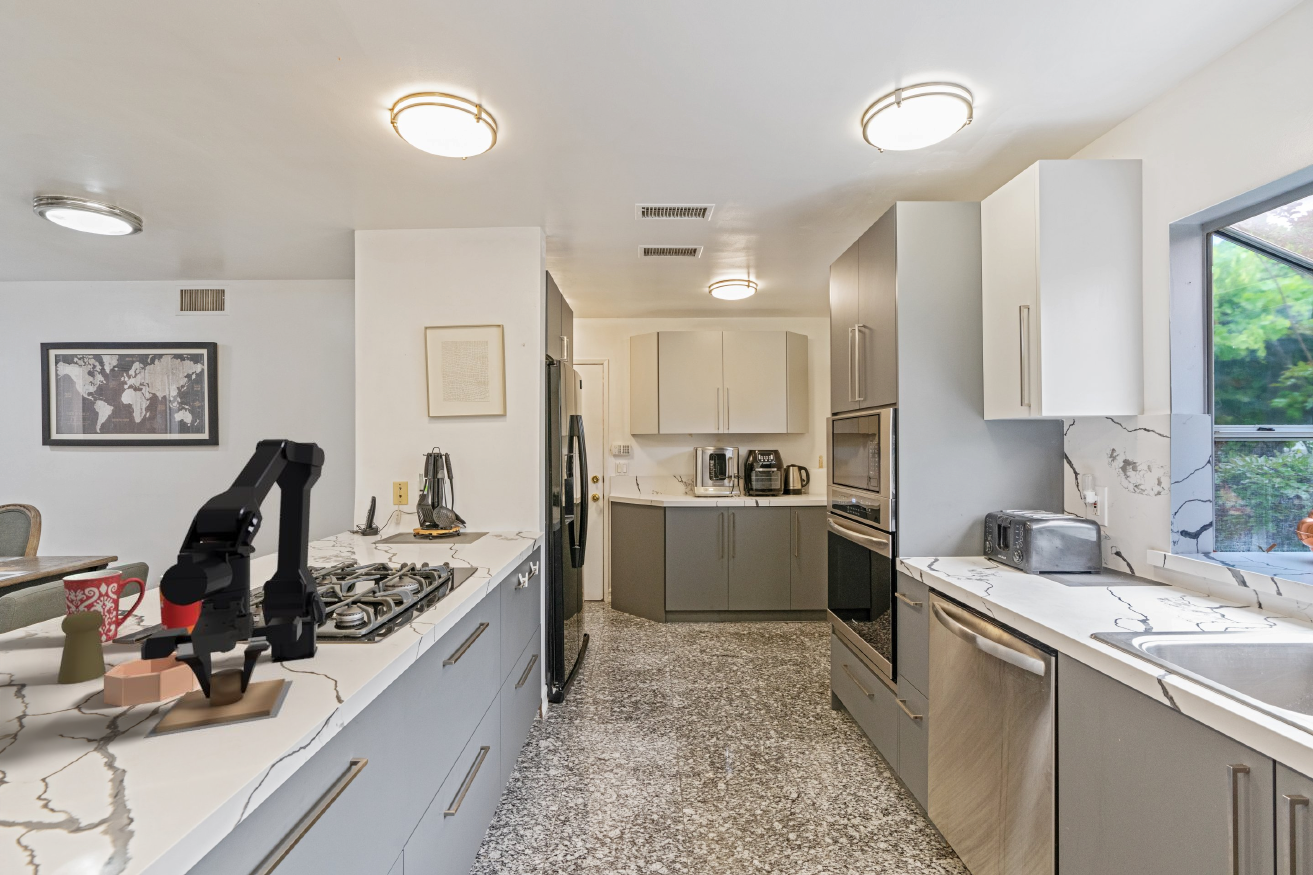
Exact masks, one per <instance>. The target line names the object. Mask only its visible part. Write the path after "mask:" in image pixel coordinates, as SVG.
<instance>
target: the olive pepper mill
mask: <svg viewBox="0 0 1313 875" xmlns="http://www.w3.org/2000/svg"><path fill="white" fill-rule="evenodd" d="M102 624H103V615H102V614H101V613H100V612H98V611H83V612H77V613H74V614H70V615H68V616H65V617H64V618H63V619H62V621H61V624H60V625H61V630H62V632H63V633H64V634H65V640H64V642H63V643H64V644H63V650H62V653H61V654H62V655H61V660H60V666H59V671H58V676H57V684H60V685H71V684H72V685H73V684H80V683H85V682H90V681H93V680H96V679H98V678H101V677H104V675H105V674H106V673H107V669H106V663H105V658H104V653H103V647H102V643H101V639H100V633H99V629H100V627H101V626H102Z"/></svg>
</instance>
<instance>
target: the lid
mask: <svg viewBox="0 0 1313 875" xmlns="http://www.w3.org/2000/svg"><path fill="white" fill-rule="evenodd" d="M242 676H243V668H239V667H238V668H237V667H236V668H227V669H222V670H219V671H216V672H212V674H211V675H210V698H208V699H207V698H206V697H205V695H204V693H203V690H202V689H201V690H200V689H198V690H192V691H189V692H186V693H184V694H183V695H182V696H183V697H182V698H181V699H180V700H179V701H178V703H177V704H176V705H175V706H174V707H173V708H172V709H171V711H170V712H169V713H168V714H167V715H166V716H165V717H164V719H163V720H162V721H161V722H160V723H159V724H158V725H157V727H156V733H161V732H168V731H174V730H180V729H187V728H193V727H199V726H206V725H212V724H218V723H225V722H231V721H237V720H244V719H250V718H257V717H263V716H269V715H270V714H271V712H272V710H273V708H274V706H275V703H276V701H277V699H278V697H279V695H280V693H281V691H282V689H283V687H284V685H285V682H286V678H280V679H271V680H266V681H265V680H264V681H258V682H252V683H251V682H249V685H248V688H247V690H246V692H245V693H243V694H242V686H241V684H242Z"/></svg>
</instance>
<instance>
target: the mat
mask: <svg viewBox="0 0 1313 875" xmlns="http://www.w3.org/2000/svg"><path fill="white" fill-rule="evenodd" d="M293 682H294V680H285V685H284V687H283V689H282V691H281V693H280V695H279V697H278V699H277V701H276V703H275V706H274V708H273V710H272V712H271V714H270V715H269V716H263V717H257V718H250V719H244V720H237V721H231V722H225V723H218V724H212V725H206V726H199V727H193V728H187V729H180V730H174V731H168V732H161V733H156V727H157V725H158V724H159V723H160V722H161V721H162V720H163V719H164V717H165V716H166V715H167V714H168V713H169V712H170V711H171V709H172V708H173V707H174V706H175V705H176V704H177V703H178V701H179V700H180V699H181V698H182V697H183V696H184V695H181V696H180V695H179V698H178V699H177V700H176V701H175V702H174V703H173V704H172V705H171V706H170V708H169V709H168V710H167V711H166V712H165V713H164V714H163V715H162V717H161V718H160V719H159V720H158V721H157V722H156V723H155V724H154V726H152V728H151V729H150V730H149V731H148V733H147V734H145V736H144V737H143V739H149V738H157V737H161V736H167V735H175V734H179V733H187V732H193V731H199V730H204V729H205V730H207V729H212V728H219V727H223V726H224V727H225V726H231V725H237V724H238V725H239V724H242V723H249V722H257V721H261V720H268V719H276V718H277V717H278V716H279V713H280V712H281V709H282V706H283V704H284V702H285V700H286V697H287V695H288V693H289V691H290V689H291V686H292V685H293Z"/></svg>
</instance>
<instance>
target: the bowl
mask: <svg viewBox="0 0 1313 875" xmlns="http://www.w3.org/2000/svg"><path fill="white" fill-rule="evenodd" d="M176 657H177V652H173V653H172V654H171V655H170V656H169V657H168V658H159V659H151V660H141V658H137V659H134V660H129V661H126V662H124V663H123V662H122V663H119V664H117V665H115V666H114V667H112V668H111V669H110V670H108V671H106V674H105V675H103V703H104V704H107V705H114V706H117V707H121V708H123V707H124V708H125V707H130V706H137V705H145V704H146V705H147V704H152V703H158V702H163V701H166V700H168V699H172V698H174V697H177V696H180V695H181V696H182V695H185V693H186V692H191V691H195V688H197V686H198V685H200V684H199V682H198V679H197V677H196V675H195V674H194V672H193V671H192V669H191V668H190V666H188V665H187V664H186V663H184V662H176V661H175V658H176Z"/></svg>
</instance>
